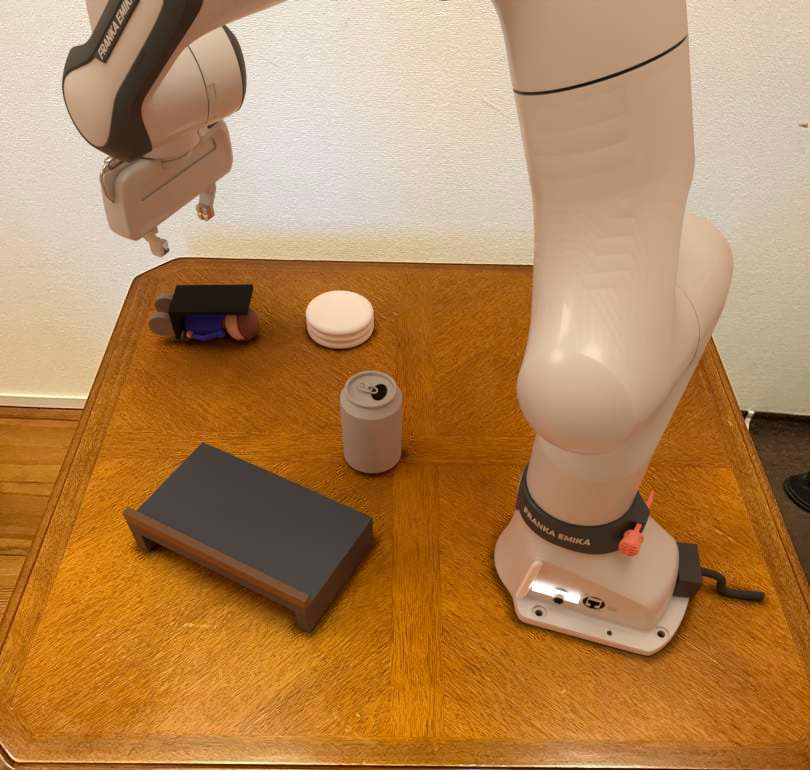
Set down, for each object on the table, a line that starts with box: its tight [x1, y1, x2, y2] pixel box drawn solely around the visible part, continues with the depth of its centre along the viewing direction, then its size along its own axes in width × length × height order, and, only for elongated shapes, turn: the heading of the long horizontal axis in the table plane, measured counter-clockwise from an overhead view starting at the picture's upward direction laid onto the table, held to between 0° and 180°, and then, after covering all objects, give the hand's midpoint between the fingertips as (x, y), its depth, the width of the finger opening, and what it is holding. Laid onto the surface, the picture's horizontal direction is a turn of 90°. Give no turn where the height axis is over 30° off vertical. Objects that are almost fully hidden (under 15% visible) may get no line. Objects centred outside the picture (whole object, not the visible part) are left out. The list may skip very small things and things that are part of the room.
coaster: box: [305, 290, 375, 350], centre depth 110 cm, size 10×10×4 cm
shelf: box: [121, 441, 374, 634], centre depth 85 cm, size 24×14×7 cm, turn 62°
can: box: [339, 370, 403, 474], centre depth 91 cm, size 8×8×12 cm
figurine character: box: [148, 283, 260, 342], centre depth 107 cm, size 7×8×15 cm
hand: (184, 235), depth 96 cm, fingers open, 8 cm apart
